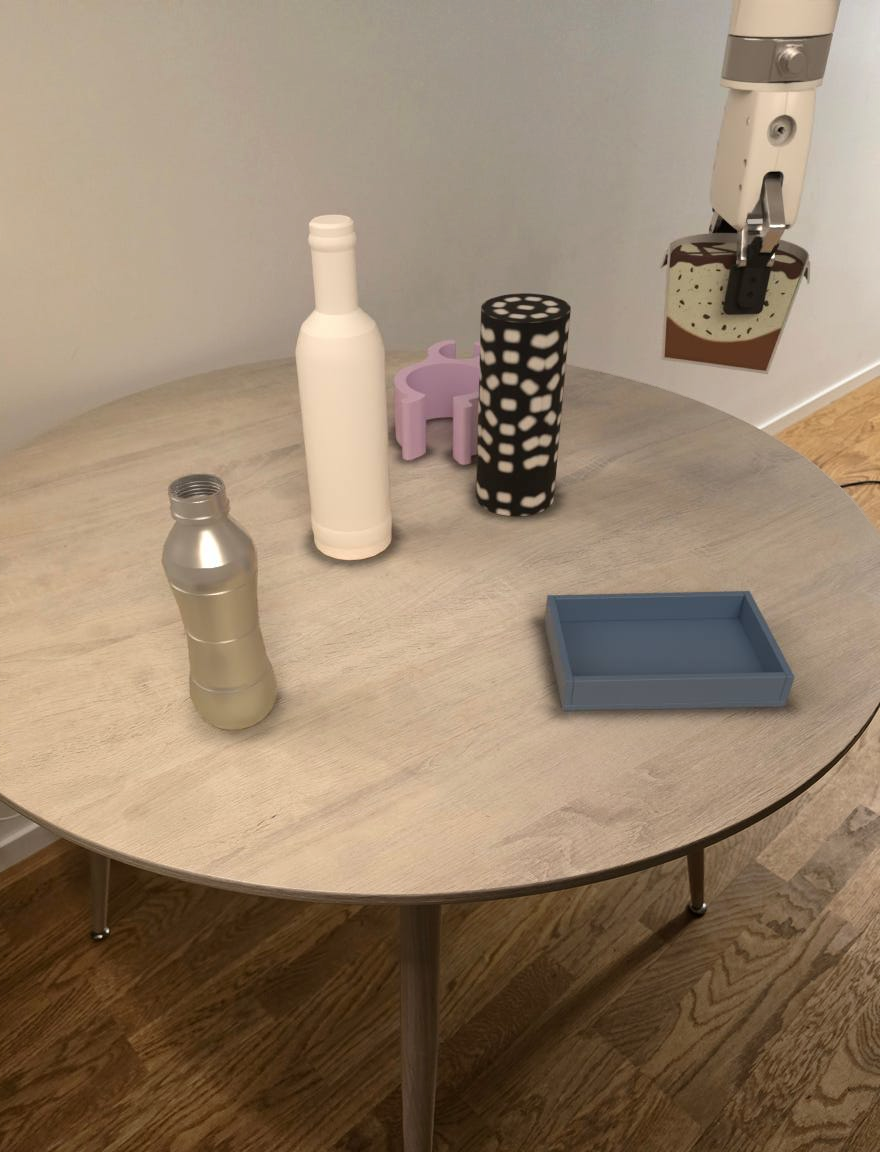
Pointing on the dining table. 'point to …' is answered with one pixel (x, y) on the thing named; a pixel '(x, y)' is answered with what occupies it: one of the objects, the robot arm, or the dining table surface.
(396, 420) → the clip
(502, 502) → the white-spotted black cylinder
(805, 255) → the food container
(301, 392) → the bottle
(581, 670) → the tray
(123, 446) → the dining table surface
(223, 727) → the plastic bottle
